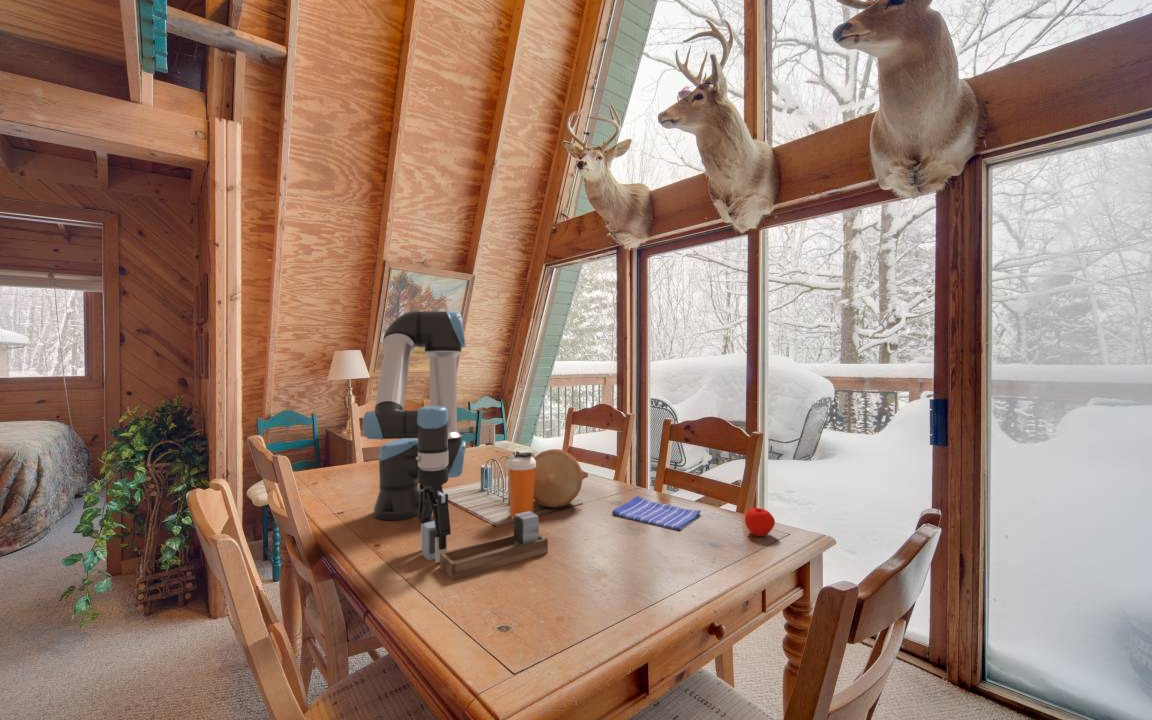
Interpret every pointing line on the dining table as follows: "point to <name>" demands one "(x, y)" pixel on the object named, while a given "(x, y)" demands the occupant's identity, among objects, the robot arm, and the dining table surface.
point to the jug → (557, 478)
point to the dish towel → (656, 513)
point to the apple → (759, 521)
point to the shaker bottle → (521, 482)
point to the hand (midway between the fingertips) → (433, 554)
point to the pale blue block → (428, 540)
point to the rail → (497, 549)
